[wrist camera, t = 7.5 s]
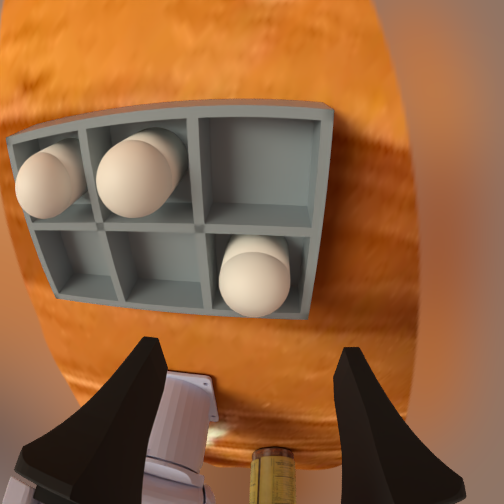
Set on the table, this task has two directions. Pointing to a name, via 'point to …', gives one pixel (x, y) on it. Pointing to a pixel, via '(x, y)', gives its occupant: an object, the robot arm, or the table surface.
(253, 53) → the table surface
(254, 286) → the egg
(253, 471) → the sauce bottle
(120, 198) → the egg
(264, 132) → the carton
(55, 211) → the egg
